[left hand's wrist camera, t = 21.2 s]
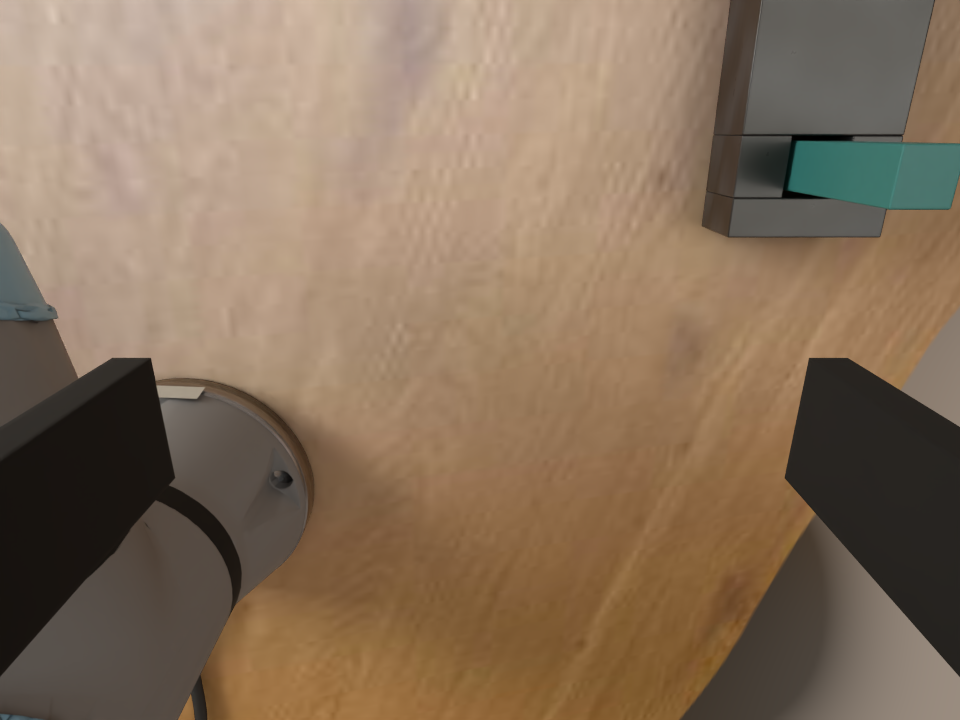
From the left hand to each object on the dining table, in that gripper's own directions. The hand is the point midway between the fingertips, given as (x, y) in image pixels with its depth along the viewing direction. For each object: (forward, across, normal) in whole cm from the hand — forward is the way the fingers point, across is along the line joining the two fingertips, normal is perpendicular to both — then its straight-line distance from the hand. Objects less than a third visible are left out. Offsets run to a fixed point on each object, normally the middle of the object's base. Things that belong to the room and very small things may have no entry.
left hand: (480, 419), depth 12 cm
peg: (+25, -17, -4) cm, 30 cm away
